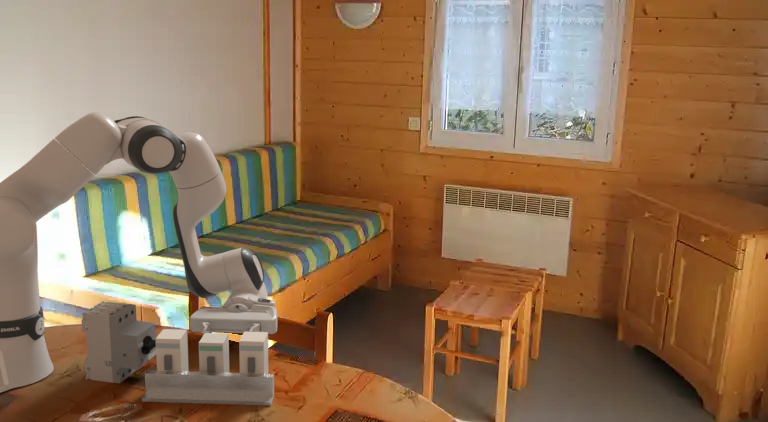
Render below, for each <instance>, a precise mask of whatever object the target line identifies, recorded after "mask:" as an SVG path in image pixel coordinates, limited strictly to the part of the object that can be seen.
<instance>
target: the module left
mask: <svg viewBox="0 0 768 422" xmlns="http://www.w3.org/2000/svg"><path fill="white" fill-rule="evenodd" d="M188 343H189V341H188V329H173V328H172V329H171V328H169V329H168V328H163V329H162V330H160V333H159V334H158V335H157V336H156V355H155V356H156V358H155V359H156V370H159V371H190V370H189V348H188V347H189V345H188Z"/></svg>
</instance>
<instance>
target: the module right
mask: <svg viewBox="0 0 768 422" xmlns="http://www.w3.org/2000/svg"><path fill="white" fill-rule="evenodd" d="M238 345H239V346H238V347H239V348H238V349H239V373H257V374H269V334H268V332H244V333H242V335H241V337H240V339H239V341H238Z"/></svg>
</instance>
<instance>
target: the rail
mask: <svg viewBox="0 0 768 422" xmlns="http://www.w3.org/2000/svg"><path fill="white" fill-rule="evenodd" d="M144 383H145V393H144V394H143V395H142V397H141V402H142V403H145V402H146V403H147V402H148V403H175V404H176V403H178V404H183V403H184V404H211V405H213V404H214V405H237V406H238V405H239V406H241V405H242V406H243V405H244V406H245V405H246V406H248V405H249V406H272V404H273V401H274V398H275V374H274V373H268V374H257V373H240V372H229V373H224V372H200V371H190V370H189V371H159V370H157V369H156V370H154V369H150V370H149V369H147V370H146V371H145V373H144Z"/></svg>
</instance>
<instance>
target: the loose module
mask: <svg viewBox="0 0 768 422" xmlns="http://www.w3.org/2000/svg"><path fill="white" fill-rule="evenodd" d="M229 334H230V333H215V332H212V333H205V334H204V335H202V337H201V339H200V340H199V341H198V361H199V363H198V365H199V368H198V369H199V372H224V373H230V345H229V344H230V343H229V341H230V340H229V339H230V337H229Z"/></svg>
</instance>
